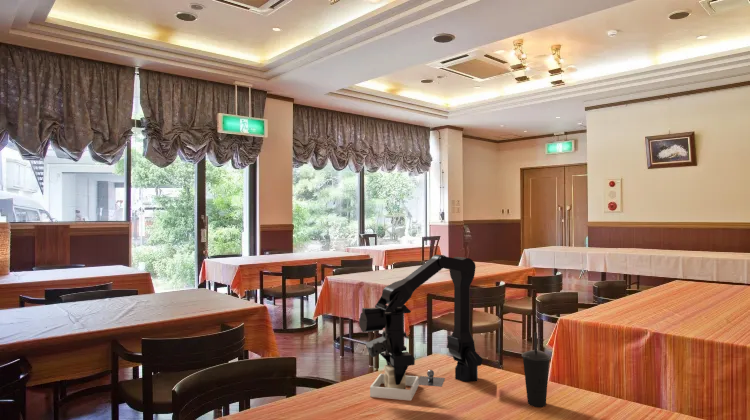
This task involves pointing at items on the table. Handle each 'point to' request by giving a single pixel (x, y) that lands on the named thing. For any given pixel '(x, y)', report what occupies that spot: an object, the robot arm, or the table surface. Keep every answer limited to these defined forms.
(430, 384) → the stud plate
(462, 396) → the table surface
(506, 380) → the table surface
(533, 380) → the drinking cup
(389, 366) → the socket block
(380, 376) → the bin
